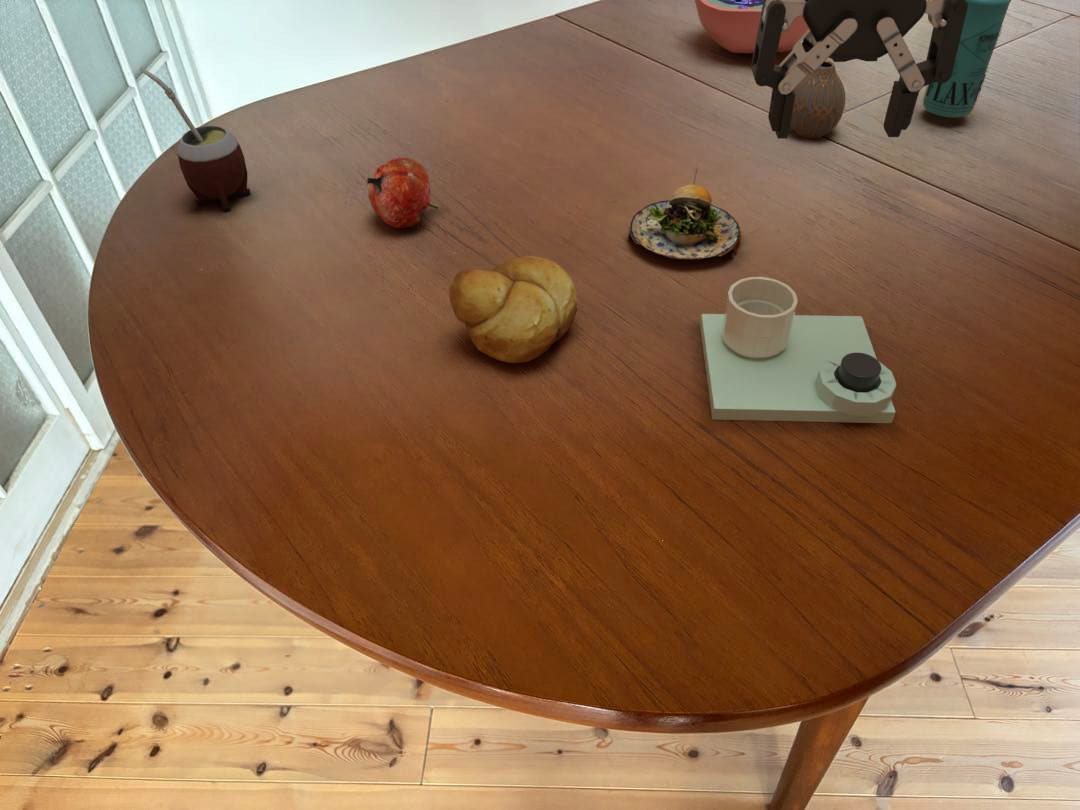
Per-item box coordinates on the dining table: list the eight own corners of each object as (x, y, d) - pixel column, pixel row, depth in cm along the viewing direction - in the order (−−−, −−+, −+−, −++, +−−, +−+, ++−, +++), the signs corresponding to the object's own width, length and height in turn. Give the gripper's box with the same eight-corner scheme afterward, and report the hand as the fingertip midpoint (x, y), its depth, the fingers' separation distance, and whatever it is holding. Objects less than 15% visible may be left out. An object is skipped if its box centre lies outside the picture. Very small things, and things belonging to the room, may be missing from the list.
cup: (781, 321, 80) (791, 277, 77) (791, 362, 76) (802, 317, 73) (718, 320, 81) (725, 276, 77) (724, 361, 76) (732, 316, 73)
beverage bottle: (908, 118, 113) (956, -48, 99) (934, 102, 116) (984, -60, 102) (954, 134, 109) (1011, -35, 95) (980, 117, 112) (1038, -48, 99)
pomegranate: (413, 214, 102) (339, 185, 96) (445, 164, 99) (372, 130, 92) (432, 251, 98) (357, 223, 91) (467, 201, 95) (391, 168, 88)
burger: (606, 245, 93) (609, 183, 87) (669, 201, 99) (675, 140, 94) (700, 287, 87) (709, 222, 82) (760, 237, 93) (772, 174, 88)
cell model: (811, 80, 122) (828, -4, 114) (674, 62, 127) (681, -19, 120) (827, 36, 133) (843, -43, 125) (700, 22, 139) (708, -54, 131)
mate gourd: (258, 206, 100) (223, 80, 90) (189, 221, 98) (144, 94, 87) (248, 177, 105) (214, 54, 95) (182, 191, 103) (139, 67, 92)
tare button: (871, 368, 73) (876, 352, 72) (880, 393, 71) (885, 377, 70) (833, 367, 74) (838, 351, 72) (840, 392, 71) (845, 377, 70)
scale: (858, 327, 82) (866, 302, 80) (893, 428, 72) (903, 402, 70) (699, 325, 82) (703, 299, 80) (712, 424, 73) (717, 399, 71)
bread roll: (535, 282, 88) (533, 214, 82) (609, 320, 83) (612, 250, 78) (443, 343, 81) (434, 273, 76) (518, 388, 76) (514, 317, 71)
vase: (804, 148, 107) (819, 79, 101) (772, 125, 112) (784, 58, 106) (849, 137, 109) (866, 68, 103) (815, 115, 114) (829, 48, 108)
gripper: (784, -78, 54) (750, 158, 65) (1016, -85, 53) (942, 155, 65) (767, -109, 60) (738, 113, 71) (977, -116, 59) (915, 110, 70)
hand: (835, 133), depth 68 cm, fingers open, 8 cm apart
